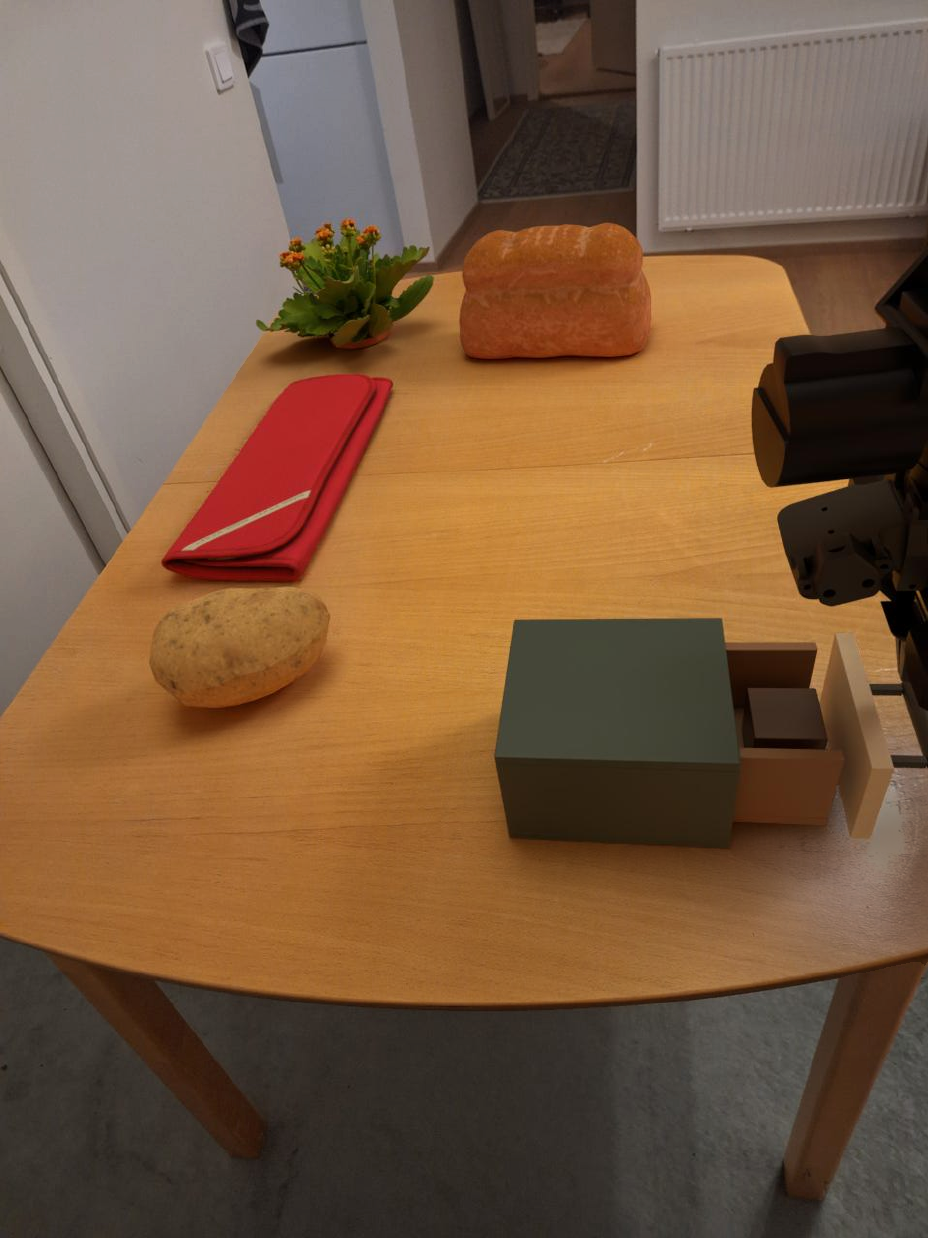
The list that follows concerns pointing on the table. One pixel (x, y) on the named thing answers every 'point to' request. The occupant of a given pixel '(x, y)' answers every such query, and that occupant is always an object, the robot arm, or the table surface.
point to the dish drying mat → (283, 483)
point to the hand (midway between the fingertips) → (908, 677)
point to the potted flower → (347, 287)
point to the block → (783, 719)
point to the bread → (555, 293)
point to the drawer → (858, 748)
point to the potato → (238, 644)
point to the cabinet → (619, 732)
